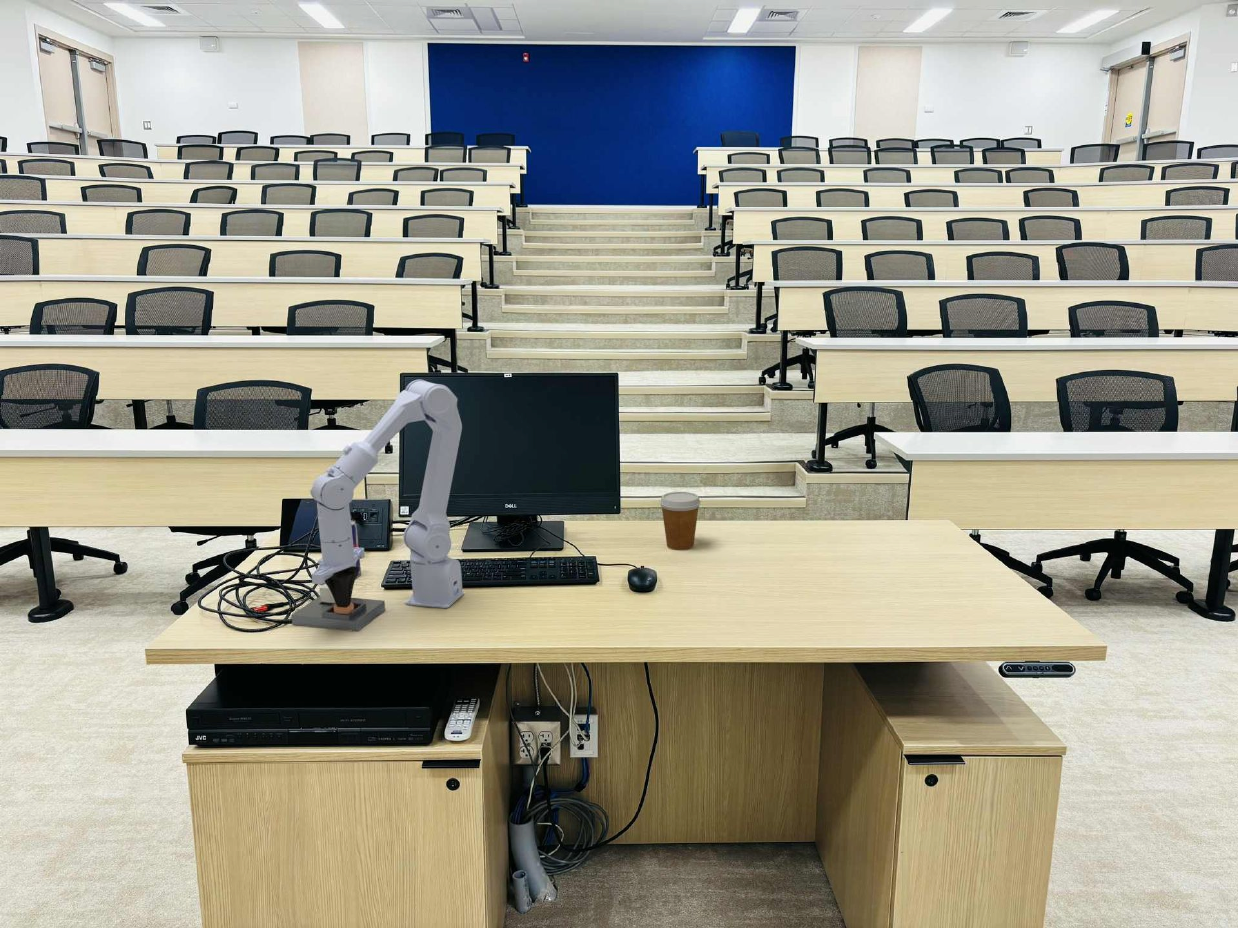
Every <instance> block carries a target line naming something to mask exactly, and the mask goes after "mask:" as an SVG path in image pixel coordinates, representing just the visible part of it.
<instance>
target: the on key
mask: <svg viewBox="0 0 1238 928" xmlns="http://www.w3.org/2000/svg"><path fill="white" fill-rule="evenodd" d="M319 596H320V597H321V602H329V603H335V600H334V598H333V595H332V593H331V591H330V589H329V588H328V586H327V585H326V583H324V584H321V586H320V587H319Z"/></svg>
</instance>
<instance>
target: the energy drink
mask: <svg viewBox="0 0 1238 928" xmlns="http://www.w3.org/2000/svg"><path fill="white" fill-rule="evenodd" d="M351 527H352V537H353V547H354V548H355V547H358V548H360V547H359V538H358V529H357V523H356V521H354V520H351ZM353 566H354V567H358V568H359V573H358V575H357V577H356V579H357V578H359V577H360V576H361V574H362V569H361V568H362V567H361V559H358V560H357V562H356V563H355V565H353Z"/></svg>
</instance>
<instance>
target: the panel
mask: <svg viewBox="0 0 1238 928" xmlns="http://www.w3.org/2000/svg"><path fill="white" fill-rule="evenodd" d="M351 603H353V604H354V610H353V611H352V612H351V613H349V614H340V613H334V606H335V605H336V603H329V602H321V597H320V595H319V596H318V597H316V598H315V599H314V600H312V601H310V602H309V603H307V604H305V605H304V606H302V607H301V608H300V609H297V610H296V611H295V612H294V613H291V615H290V616H291V624H292V623H294V625H293V626H301V627H302V626H304V627H311V628H321V629H322V628H323V629H330V630H339V631H348V630H350V632H359V631H361V630H362V629H363V628H365V627H366V626H367V625H368V624H369V623H371V622H372V621H374V620H375V619H376V618H377V617H378V616H380V615H381V614H383V613H384V612H385V611H386V603H385V600H380V599H370V598H360V597H351ZM351 630H352V631H351Z"/></svg>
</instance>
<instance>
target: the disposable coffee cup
mask: <svg viewBox="0 0 1238 928" xmlns="http://www.w3.org/2000/svg"><path fill="white" fill-rule="evenodd" d="M701 503H702V502H701V500H700V497H699V495H698V494H696V493H694V492H689V491H672V492H667V493H664V494H663V495H661V499H660V501H659V505H660V507H661V513H662V518H663V527H664V534H665V541H666V546H667V548H669V549H671V550H675V551H685V550H689V549H690V550H691V549H692V548H694V544H695V538H696V529H697V521H698V514H699V507H700V506H701Z"/></svg>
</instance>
